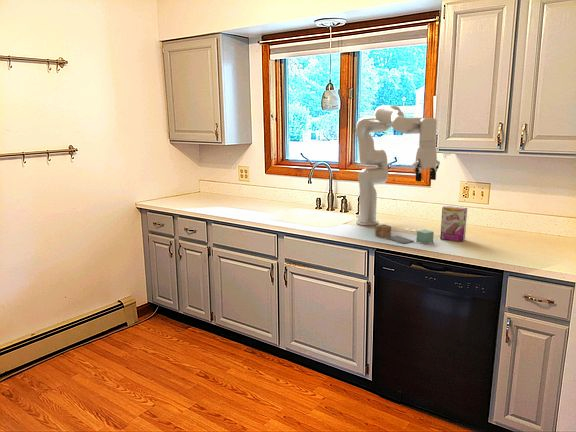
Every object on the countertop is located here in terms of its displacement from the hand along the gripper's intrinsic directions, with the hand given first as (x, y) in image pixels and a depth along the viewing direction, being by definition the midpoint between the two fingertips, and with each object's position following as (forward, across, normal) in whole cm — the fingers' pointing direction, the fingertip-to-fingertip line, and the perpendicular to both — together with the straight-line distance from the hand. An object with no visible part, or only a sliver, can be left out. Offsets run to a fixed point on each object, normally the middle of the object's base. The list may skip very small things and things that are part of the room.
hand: (425, 180), depth 229 cm
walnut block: (+30, +11, -17) cm, 36 cm away
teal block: (+30, +2, +3) cm, 30 cm away
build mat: (+30, +10, -6) cm, 32 cm away
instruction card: (+30, -10, -19) cm, 37 cm away
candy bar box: (+30, -13, +7) cm, 34 cm away
